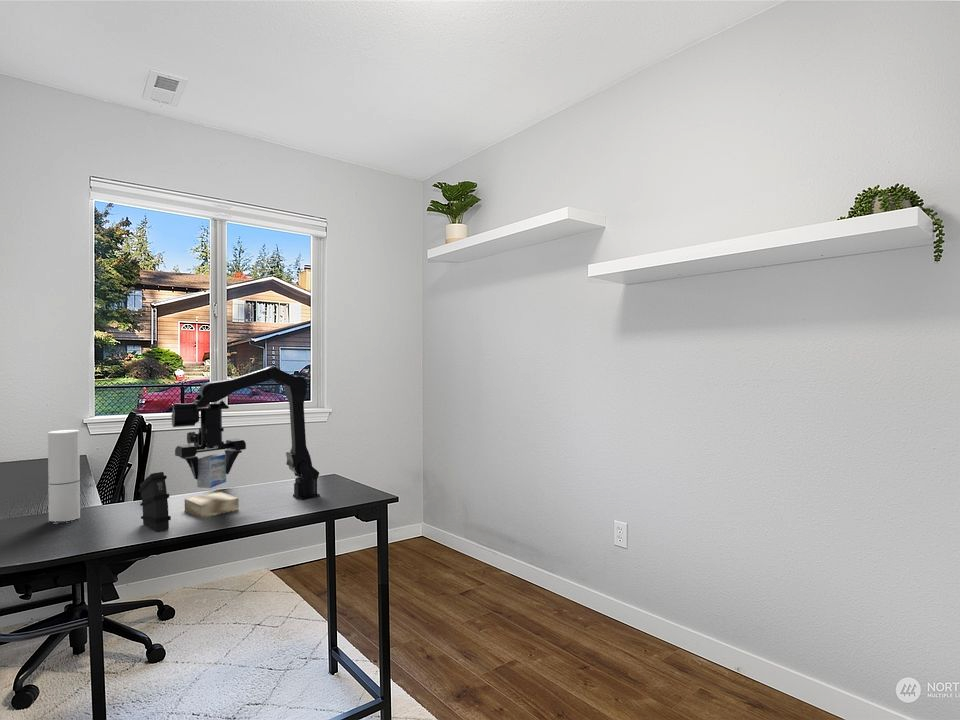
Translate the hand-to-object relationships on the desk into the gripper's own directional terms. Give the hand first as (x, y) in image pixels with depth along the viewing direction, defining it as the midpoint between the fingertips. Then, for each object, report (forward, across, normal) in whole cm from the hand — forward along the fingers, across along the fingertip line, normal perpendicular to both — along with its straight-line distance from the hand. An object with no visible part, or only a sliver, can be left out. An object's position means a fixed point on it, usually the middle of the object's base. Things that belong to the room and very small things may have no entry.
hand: (211, 476), depth 170 cm
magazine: (+10, +17, +4) cm, 20 cm away
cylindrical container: (+10, +32, -21) cm, 40 cm away
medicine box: (+3, 0, 0) cm, 3 cm away
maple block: (+11, 0, 0) cm, 11 cm away
